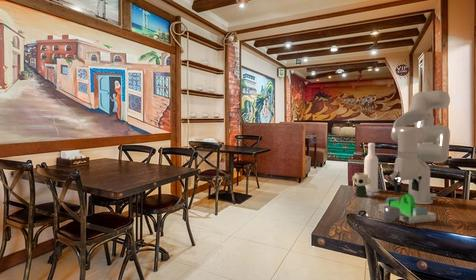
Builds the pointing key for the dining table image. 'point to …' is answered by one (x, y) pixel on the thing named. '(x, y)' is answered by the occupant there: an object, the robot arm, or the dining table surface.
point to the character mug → (361, 183)
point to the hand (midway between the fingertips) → (406, 191)
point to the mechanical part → (405, 203)
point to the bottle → (371, 168)
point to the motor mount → (405, 213)
